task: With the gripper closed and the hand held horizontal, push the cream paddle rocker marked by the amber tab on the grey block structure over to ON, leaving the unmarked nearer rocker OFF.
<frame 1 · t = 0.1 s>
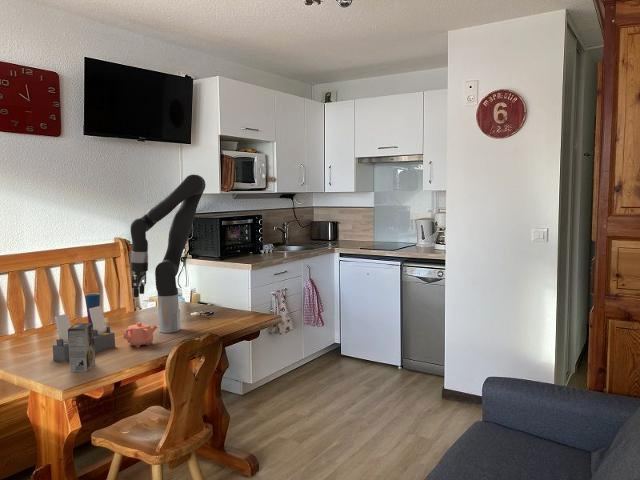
hand: (138, 295, 252), 17 cm above the table, tool pointing down, fingers open, 8 cm apart
cup: (94, 324, 271), on the table
coffee box: (83, 368, 201), on the table
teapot: (142, 345, 231), on the table
rocker 1: (64, 328, 213), point 12 cm above the table, hinge at -15.0°
grey block structure: (85, 352, 220), on the table
rocker 2: (98, 320, 227), point 12 cm above the table, hinge at -15.0°
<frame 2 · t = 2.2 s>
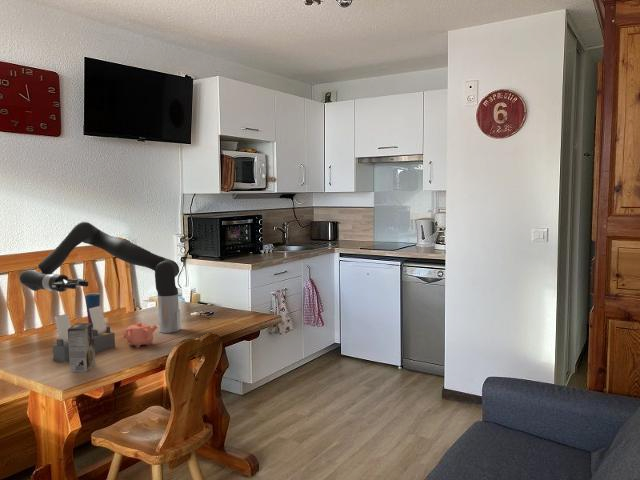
hand: (81, 285, 230), 26 cm above the table, tool horizontal, fingers open, 5 cm apart
nothing on the table moved.
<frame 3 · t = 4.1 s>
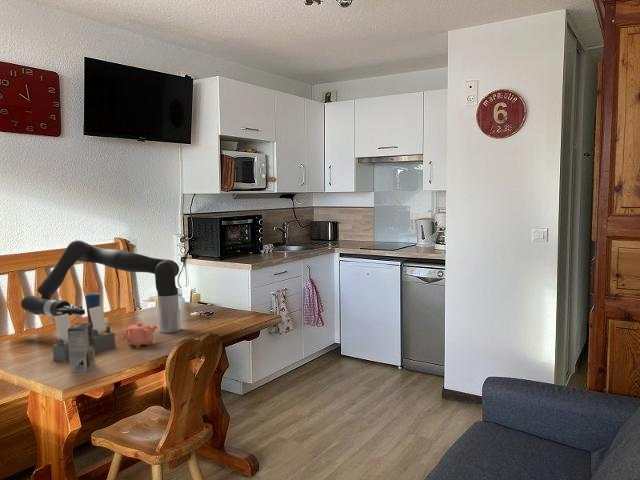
hand: (83, 312, 231), 14 cm above the table, tool horizontal, fingers closed
nothing on the table moved.
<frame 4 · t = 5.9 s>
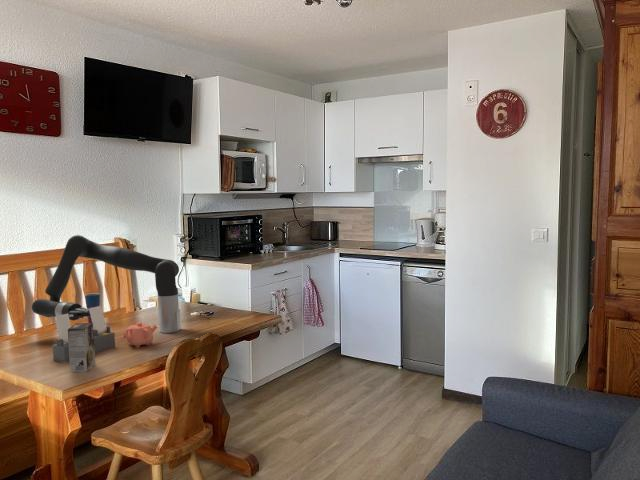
hand: (95, 314, 227), 14 cm above the table, tool horizontal, fingers closed
rocker 2: (98, 320, 227), point 12 cm above the table, hinge at -14.6°, touching gripper
everything else where it was.
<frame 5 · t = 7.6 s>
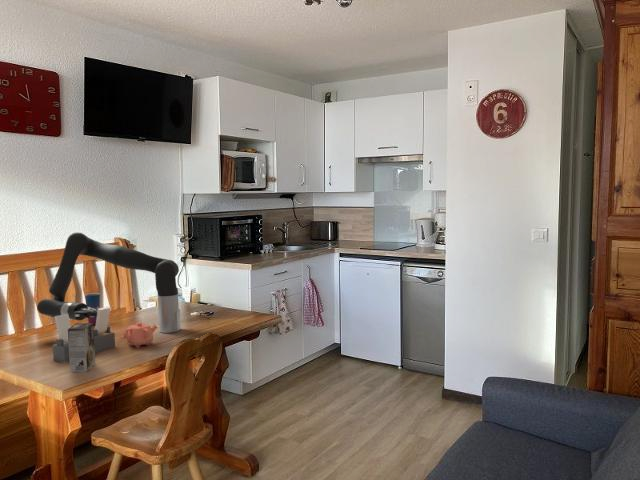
hand: (101, 314, 226), 14 cm above the table, tool horizontal, fingers closed
rocker 2: (102, 320, 226), point 12 cm above the table, hinge at 15.7°, touching gripper
everything else where it was.
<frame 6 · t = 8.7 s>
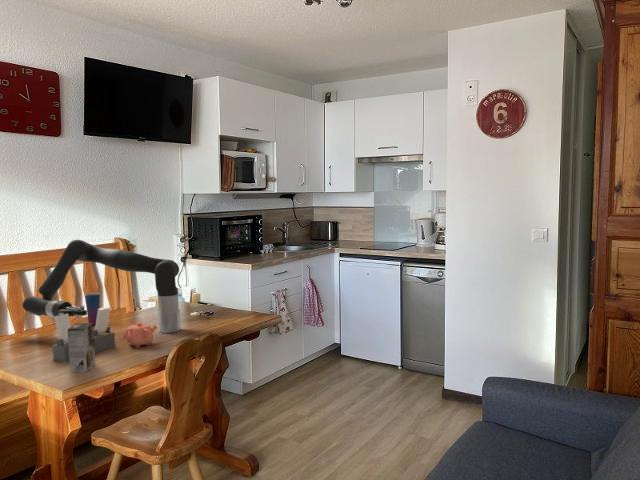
hand: (85, 313, 230), 14 cm above the table, tool horizontal, fingers closed
rocker 2: (102, 320, 226), point 12 cm above the table, hinge at 15.7°
everything else where it was.
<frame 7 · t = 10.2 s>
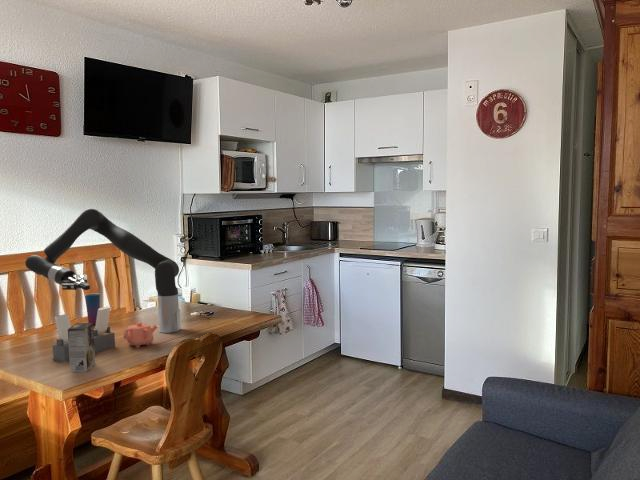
hand: (88, 287, 231), 25 cm above the table, tool horizontal, fingers closed
nothing on the table moved.
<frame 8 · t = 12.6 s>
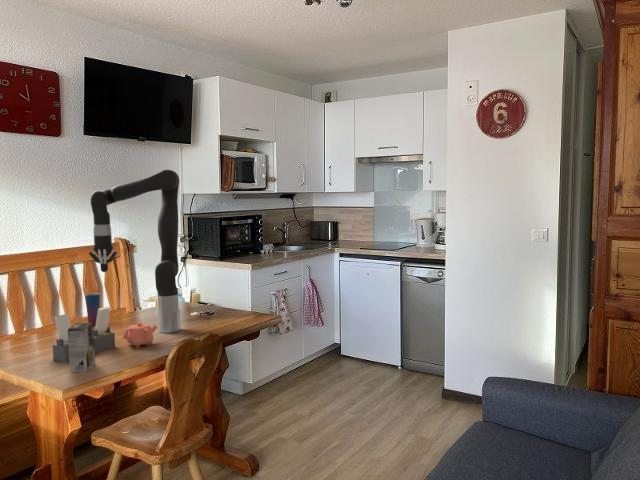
hand: (104, 271, 249), 29 cm above the table, tool pointing down, fingers closed
nothing on the table moved.
at the end: rocker 2 at +16° (first picture: -15°); rocker 1 at -15° (first picture: -15°) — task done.
